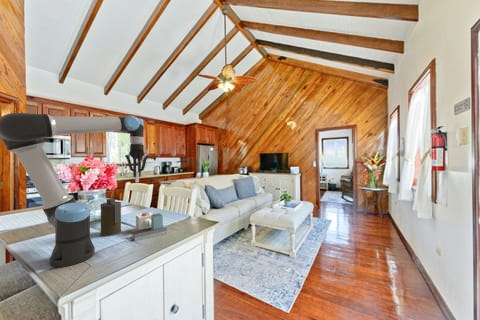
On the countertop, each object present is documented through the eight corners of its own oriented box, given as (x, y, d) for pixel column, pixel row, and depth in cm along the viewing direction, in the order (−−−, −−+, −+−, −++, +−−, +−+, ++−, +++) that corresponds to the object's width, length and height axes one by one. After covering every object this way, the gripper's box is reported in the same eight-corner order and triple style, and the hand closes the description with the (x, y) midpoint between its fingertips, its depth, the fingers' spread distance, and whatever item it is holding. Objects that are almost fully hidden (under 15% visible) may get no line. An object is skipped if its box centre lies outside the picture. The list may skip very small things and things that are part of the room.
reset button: (143, 221, 119) (143, 214, 119) (141, 219, 122) (141, 213, 122) (149, 220, 122) (149, 213, 122) (147, 218, 124) (147, 212, 124)
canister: (96, 234, 114) (96, 199, 114) (115, 228, 123) (114, 196, 123) (107, 237, 109) (107, 201, 109) (125, 231, 118) (125, 198, 118)
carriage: (153, 232, 112) (153, 215, 112) (151, 230, 116) (151, 214, 116) (162, 230, 115) (162, 214, 115) (160, 228, 119) (160, 212, 119)
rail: (134, 240, 105) (134, 234, 105) (131, 236, 110) (131, 231, 110) (166, 233, 116) (166, 227, 116) (162, 229, 121) (162, 224, 121)
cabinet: (139, 233, 115) (139, 218, 115) (135, 229, 122) (135, 214, 122) (155, 229, 121) (155, 215, 121) (151, 226, 128) (151, 212, 128)
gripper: (126, 143, 114) (126, 183, 114) (149, 144, 123) (150, 182, 123) (123, 143, 120) (123, 182, 120) (146, 144, 128) (146, 180, 128)
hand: (137, 182), depth 121 cm, fingers closed
